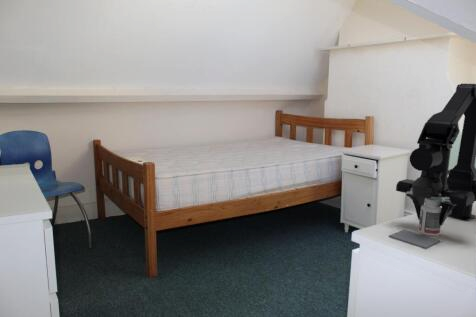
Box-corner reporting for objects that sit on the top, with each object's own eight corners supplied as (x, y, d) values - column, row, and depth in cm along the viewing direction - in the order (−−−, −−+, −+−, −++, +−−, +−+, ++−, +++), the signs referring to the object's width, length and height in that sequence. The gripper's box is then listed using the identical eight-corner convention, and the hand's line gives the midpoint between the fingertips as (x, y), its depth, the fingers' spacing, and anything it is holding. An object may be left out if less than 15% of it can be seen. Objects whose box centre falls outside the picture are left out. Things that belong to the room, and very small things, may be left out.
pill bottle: (443, 234, 112) (448, 199, 110) (432, 237, 109) (436, 202, 107) (425, 228, 117) (429, 194, 115) (414, 231, 114) (417, 197, 112)
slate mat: (404, 230, 114) (404, 229, 114) (440, 241, 107) (440, 240, 106) (388, 236, 109) (388, 235, 109) (425, 249, 101) (426, 247, 101)
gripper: (388, 163, 111) (382, 218, 114) (460, 176, 97) (452, 239, 100) (408, 159, 118) (403, 211, 121) (479, 171, 105) (471, 229, 107)
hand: (430, 222), depth 112 cm, fingers closed on pill bottle, 5 cm apart
